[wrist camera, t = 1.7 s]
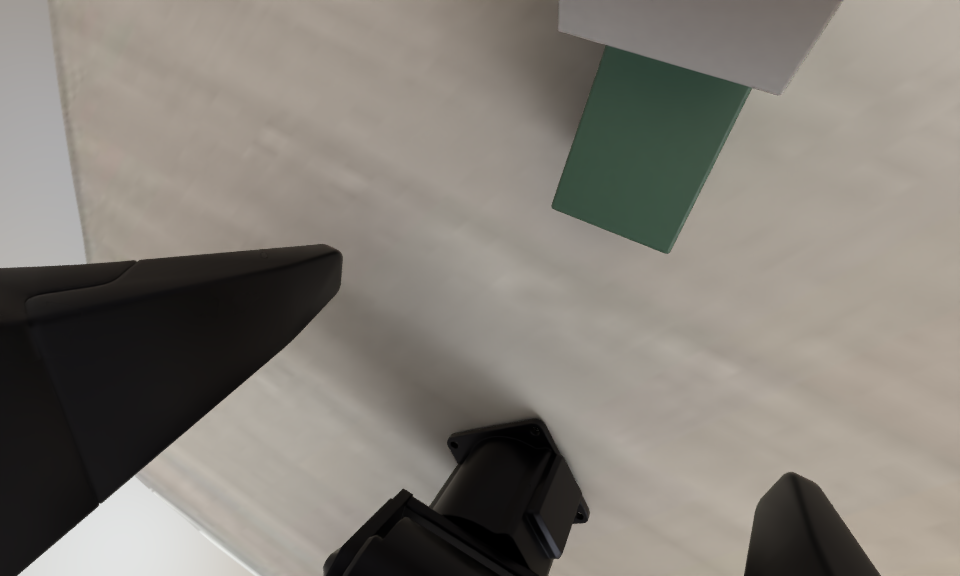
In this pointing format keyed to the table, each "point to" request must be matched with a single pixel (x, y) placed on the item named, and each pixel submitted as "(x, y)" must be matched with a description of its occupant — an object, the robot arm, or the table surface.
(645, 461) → the table surface
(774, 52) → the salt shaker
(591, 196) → the green block
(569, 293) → the table surface
